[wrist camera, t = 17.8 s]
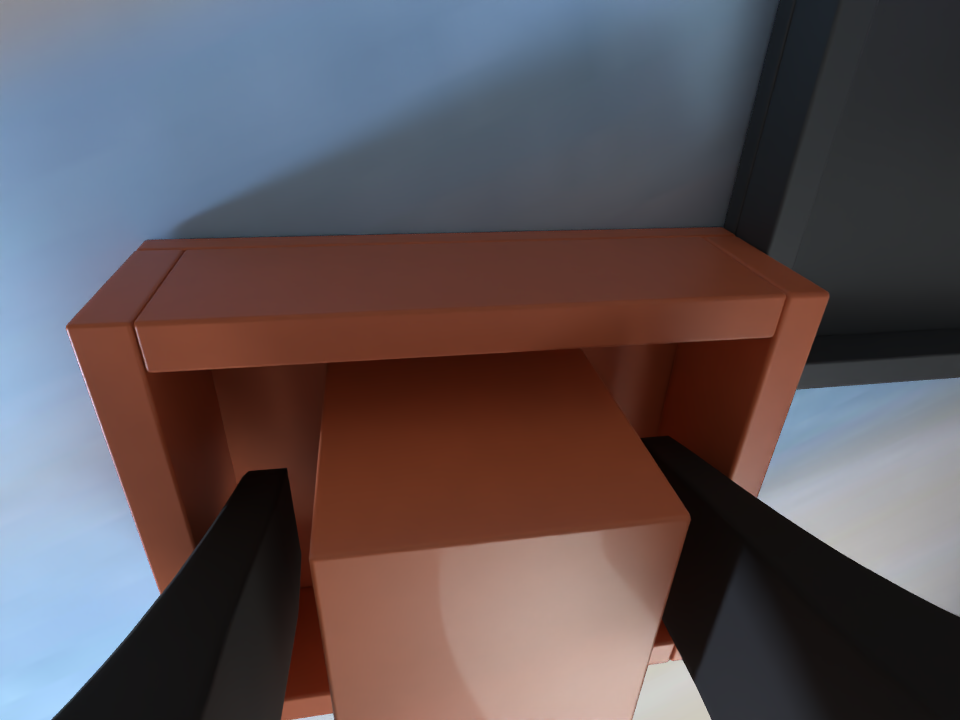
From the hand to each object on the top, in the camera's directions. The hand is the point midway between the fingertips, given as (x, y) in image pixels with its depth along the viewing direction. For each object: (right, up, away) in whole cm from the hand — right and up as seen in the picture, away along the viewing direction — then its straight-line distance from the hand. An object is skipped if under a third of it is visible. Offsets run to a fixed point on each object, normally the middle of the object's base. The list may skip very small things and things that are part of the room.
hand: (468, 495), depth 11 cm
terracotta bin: (0, +1, +2) cm, 2 cm away
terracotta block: (0, +1, +1) cm, 1 cm away
